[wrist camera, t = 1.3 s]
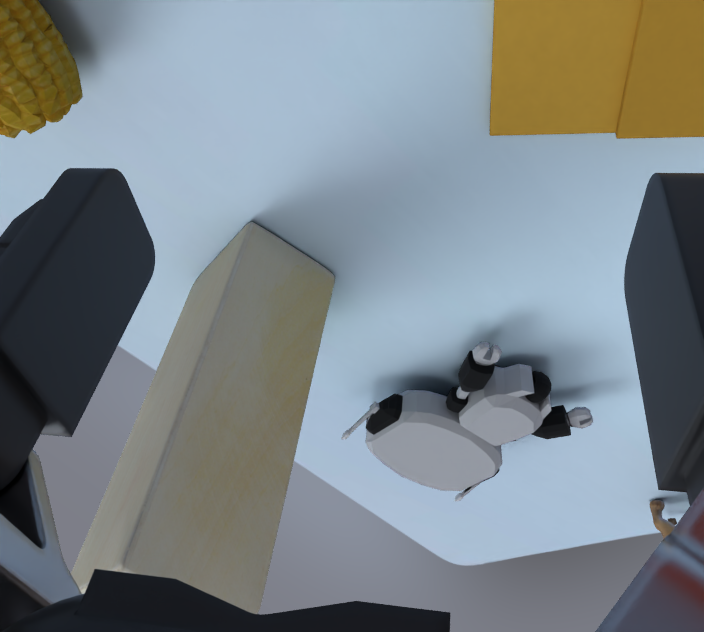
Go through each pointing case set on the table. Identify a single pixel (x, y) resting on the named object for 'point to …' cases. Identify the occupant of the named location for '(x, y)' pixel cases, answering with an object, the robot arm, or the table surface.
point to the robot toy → (465, 423)
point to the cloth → (598, 68)
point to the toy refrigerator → (218, 427)
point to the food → (33, 69)
